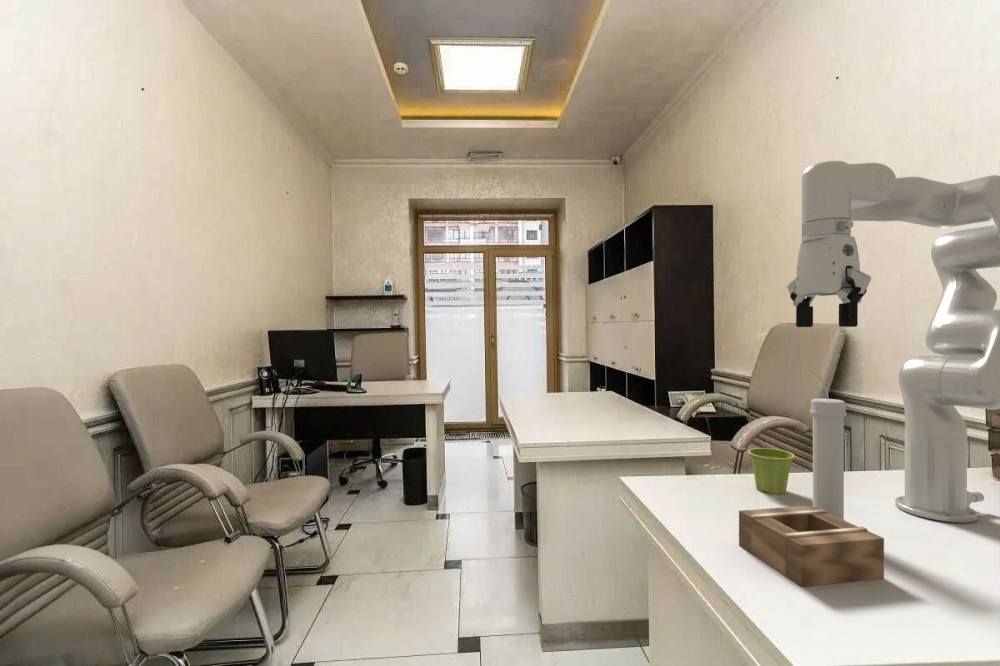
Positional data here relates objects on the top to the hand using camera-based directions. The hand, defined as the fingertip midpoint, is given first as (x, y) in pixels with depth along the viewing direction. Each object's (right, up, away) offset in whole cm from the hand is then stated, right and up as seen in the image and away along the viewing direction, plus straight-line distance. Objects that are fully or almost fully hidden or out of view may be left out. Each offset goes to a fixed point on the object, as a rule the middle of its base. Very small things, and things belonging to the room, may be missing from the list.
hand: (825, 326), depth 91 cm
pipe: (0, -38, 0) cm, 38 cm away
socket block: (-10, -38, -11) cm, 40 cm away
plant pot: (+3, -38, +24) cm, 45 cm away
